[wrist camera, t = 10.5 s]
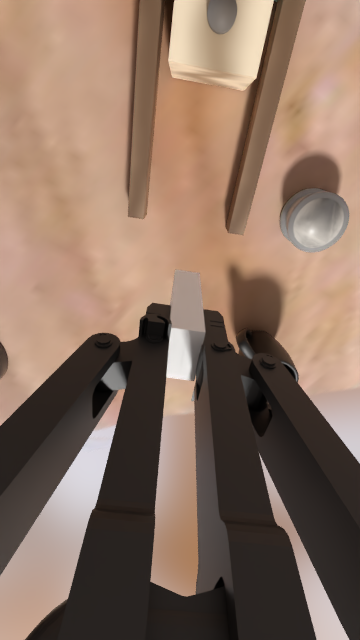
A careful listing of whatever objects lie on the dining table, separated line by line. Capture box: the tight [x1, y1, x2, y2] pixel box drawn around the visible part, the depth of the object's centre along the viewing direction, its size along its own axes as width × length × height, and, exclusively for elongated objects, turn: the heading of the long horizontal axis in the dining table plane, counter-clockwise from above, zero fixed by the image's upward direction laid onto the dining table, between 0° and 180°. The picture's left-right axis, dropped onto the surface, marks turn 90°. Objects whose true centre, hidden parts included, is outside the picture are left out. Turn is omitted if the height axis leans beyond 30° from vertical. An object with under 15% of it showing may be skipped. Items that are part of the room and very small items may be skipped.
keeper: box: [168, 0, 274, 91], centre depth 26 cm, size 8×7×8 cm
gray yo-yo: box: [280, 188, 349, 252], centre depth 37 cm, size 7×7×4 cm
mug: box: [236, 329, 299, 383], centre depth 45 cm, size 8×12×10 cm
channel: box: [128, 0, 306, 235], centre depth 31 cm, size 15×24×5 cm, turn 171°
